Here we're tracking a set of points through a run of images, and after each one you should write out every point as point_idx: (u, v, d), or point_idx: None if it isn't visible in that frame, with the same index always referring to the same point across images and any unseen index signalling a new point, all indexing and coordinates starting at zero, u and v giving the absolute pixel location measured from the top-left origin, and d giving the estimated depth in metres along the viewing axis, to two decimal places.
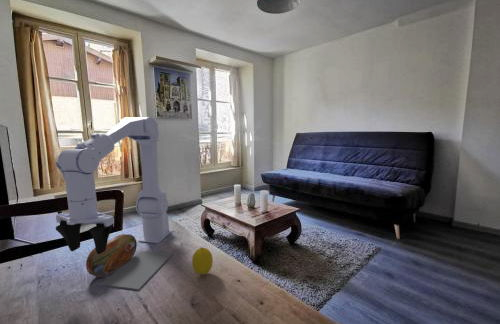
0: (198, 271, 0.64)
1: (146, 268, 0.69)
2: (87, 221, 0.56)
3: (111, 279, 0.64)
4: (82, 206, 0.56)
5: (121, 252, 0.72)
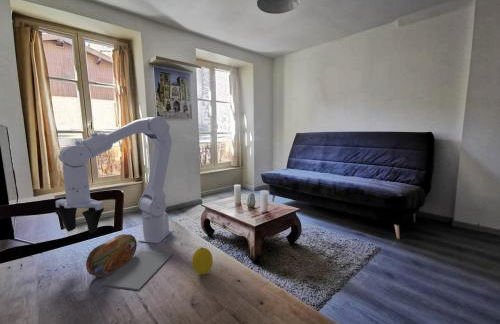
0: (198, 271, 0.64)
1: (146, 268, 0.69)
2: (81, 205, 0.68)
3: (111, 279, 0.64)
4: (77, 193, 0.67)
5: (121, 252, 0.72)
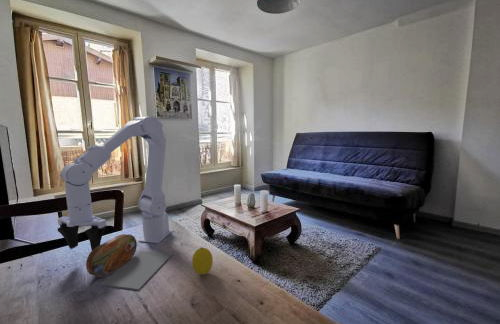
0: (198, 271, 0.64)
1: (146, 268, 0.69)
2: (83, 224, 0.68)
3: (111, 279, 0.64)
4: (79, 211, 0.67)
5: (121, 252, 0.72)
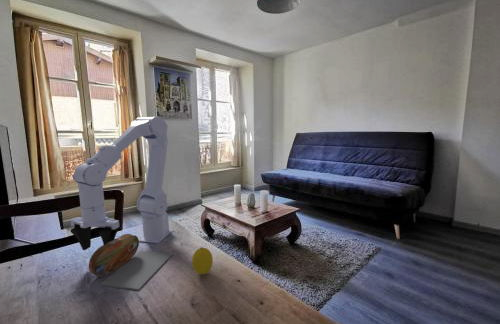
0: (198, 271, 0.64)
1: (146, 268, 0.69)
2: (97, 225, 0.67)
3: (111, 279, 0.64)
4: (93, 212, 0.67)
5: (123, 252, 0.71)
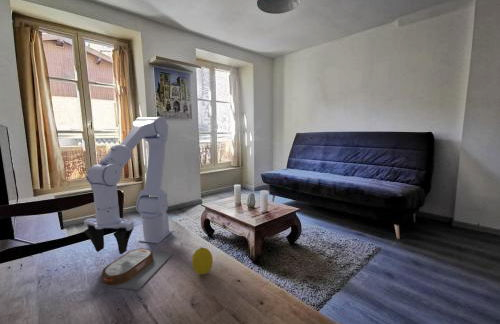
0: (198, 271, 0.64)
1: (146, 268, 0.69)
2: (112, 226, 0.66)
3: None
4: (108, 213, 0.66)
5: None
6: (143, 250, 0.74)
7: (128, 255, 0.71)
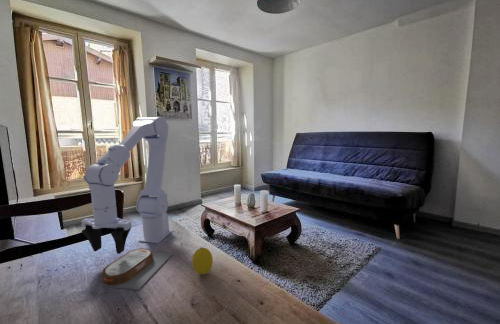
0: (198, 271, 0.64)
1: (146, 268, 0.69)
2: (109, 226, 0.66)
3: None
4: (105, 213, 0.66)
5: None
6: (143, 250, 0.74)
7: (128, 255, 0.71)
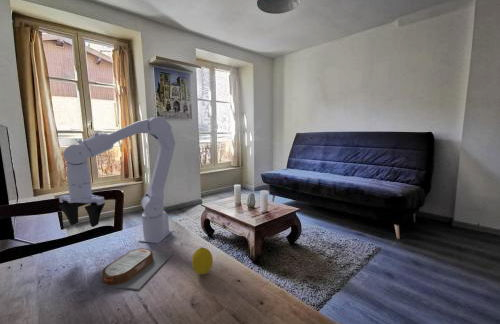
0: (198, 271, 0.64)
1: (146, 268, 0.69)
2: (83, 200, 0.72)
3: None
4: (79, 189, 0.72)
5: None
6: (143, 250, 0.74)
7: (128, 255, 0.71)
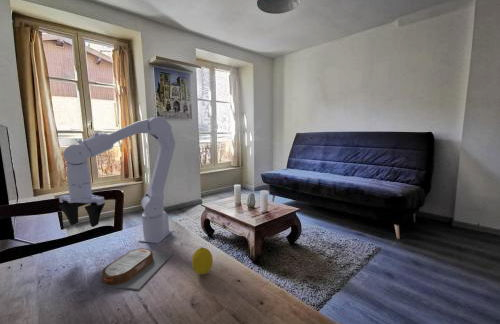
0: (198, 271, 0.64)
1: (146, 268, 0.69)
2: (83, 200, 0.72)
3: None
4: (79, 189, 0.72)
5: None
6: (143, 250, 0.74)
7: (128, 255, 0.71)
